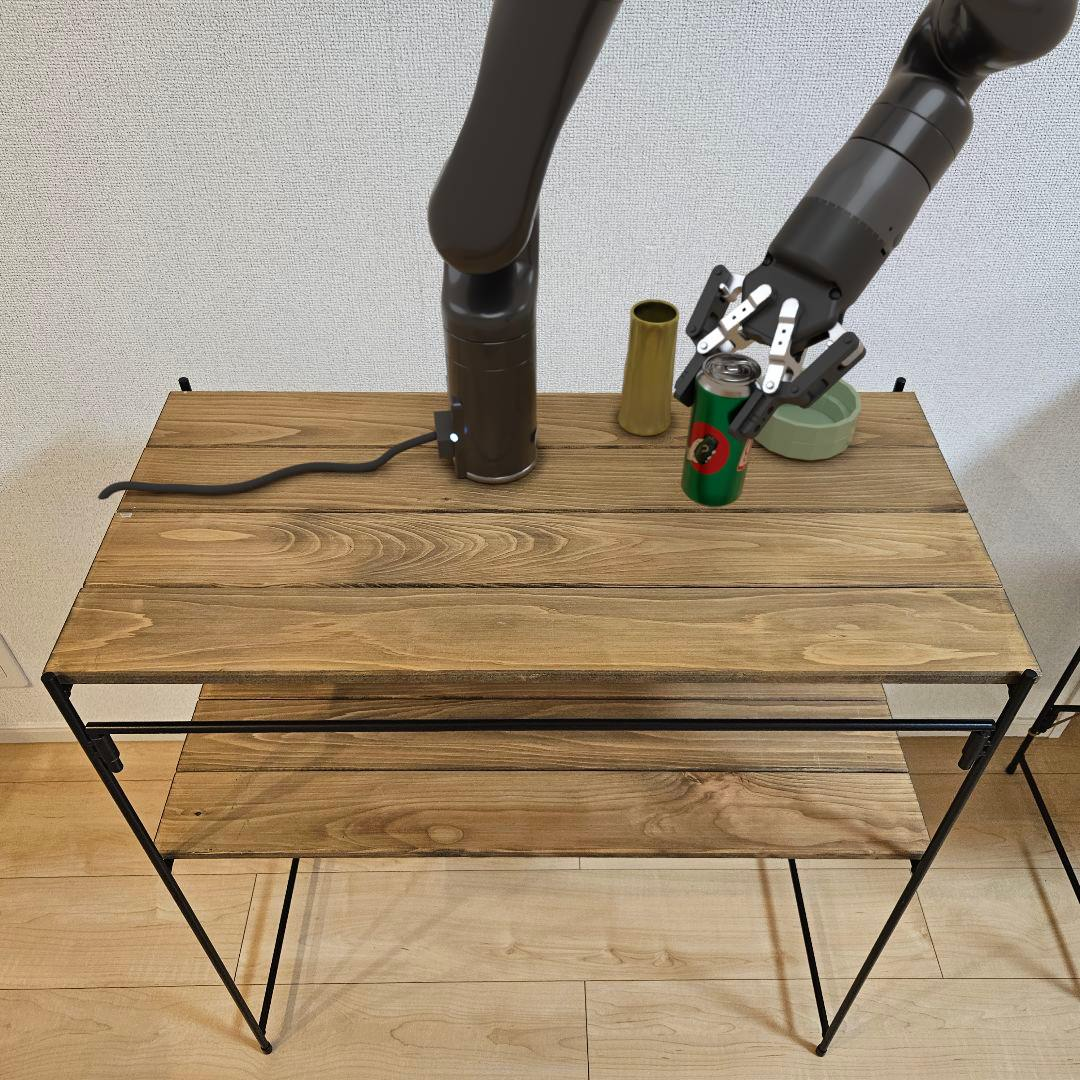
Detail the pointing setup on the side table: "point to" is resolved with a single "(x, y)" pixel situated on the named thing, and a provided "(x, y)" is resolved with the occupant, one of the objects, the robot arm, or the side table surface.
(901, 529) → the side table surface
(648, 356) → the vase
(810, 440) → the bowl
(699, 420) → the soda can
